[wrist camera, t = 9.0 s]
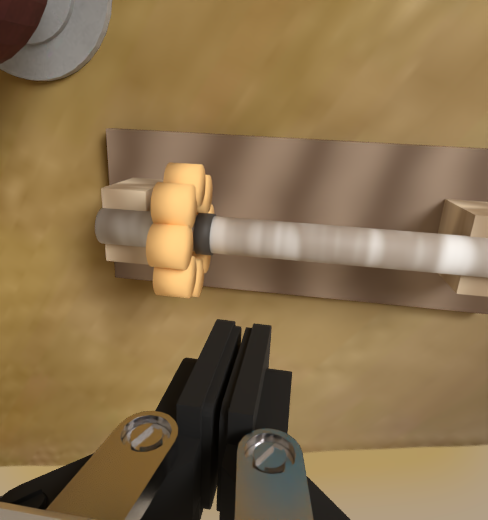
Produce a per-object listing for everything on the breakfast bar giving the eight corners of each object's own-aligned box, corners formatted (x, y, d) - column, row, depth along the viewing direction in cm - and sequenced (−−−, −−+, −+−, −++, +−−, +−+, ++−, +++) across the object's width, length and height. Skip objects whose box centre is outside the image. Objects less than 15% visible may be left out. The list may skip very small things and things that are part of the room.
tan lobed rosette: (215, 158, 29) (180, 172, 20) (213, 272, 32) (181, 325, 23) (188, 156, 29) (142, 170, 21) (188, 270, 32) (148, 322, 24)
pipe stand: (525, 150, 28) (606, 161, 20) (483, 307, 32) (538, 363, 24) (112, 128, 31) (54, 130, 24) (121, 272, 35) (73, 312, 28)
